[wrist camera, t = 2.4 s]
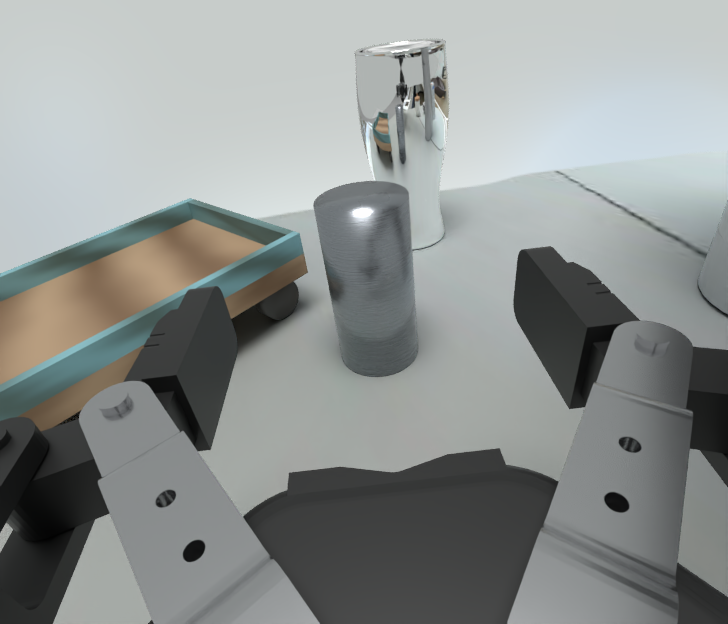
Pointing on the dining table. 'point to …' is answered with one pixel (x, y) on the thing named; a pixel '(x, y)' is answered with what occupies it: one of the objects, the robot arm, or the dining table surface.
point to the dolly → (129, 300)
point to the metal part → (370, 274)
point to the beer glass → (407, 124)
